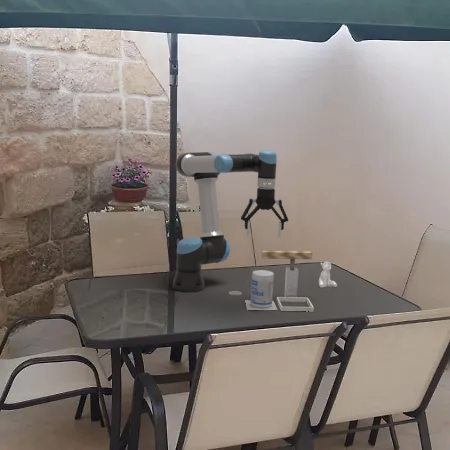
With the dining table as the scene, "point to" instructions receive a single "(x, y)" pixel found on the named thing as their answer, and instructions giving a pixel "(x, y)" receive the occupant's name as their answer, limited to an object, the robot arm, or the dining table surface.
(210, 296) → the dining table surface
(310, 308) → the holder tray
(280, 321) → the dining table surface
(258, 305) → the supplement tub
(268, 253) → the T-handle
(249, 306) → the rubber mat
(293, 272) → the post
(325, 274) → the white creature statuette
